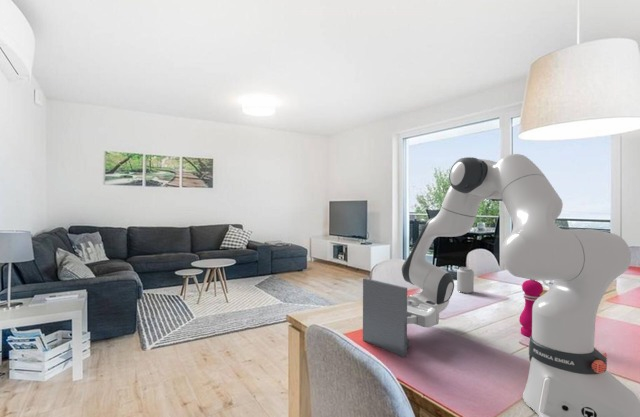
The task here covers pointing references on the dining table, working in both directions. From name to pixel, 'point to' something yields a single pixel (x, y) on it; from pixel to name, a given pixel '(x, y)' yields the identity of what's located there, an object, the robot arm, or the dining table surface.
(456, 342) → the dining table surface
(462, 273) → the can
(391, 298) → the gray menu stand
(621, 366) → the dining table surface
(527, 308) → the pepper mill
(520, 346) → the dining table surface
